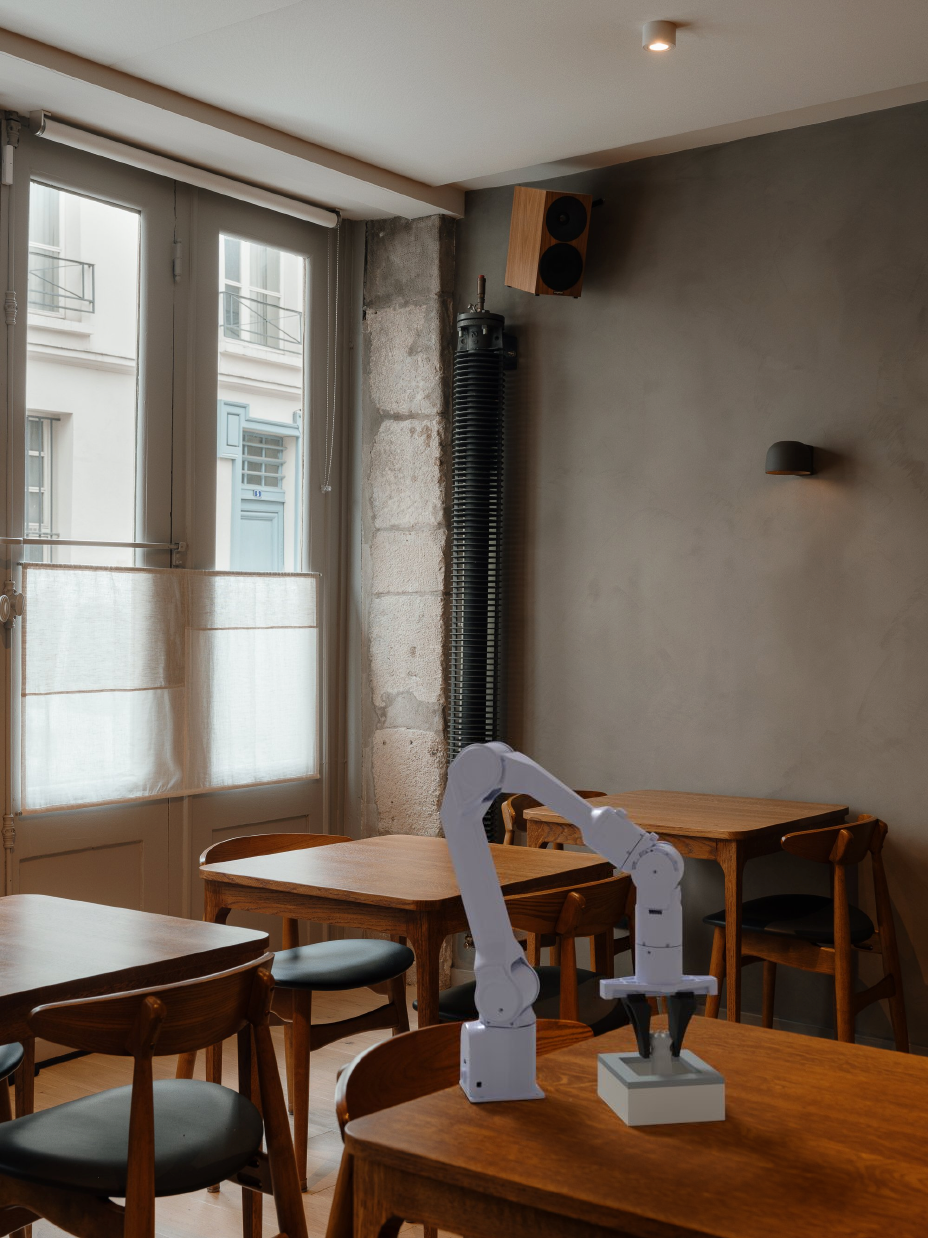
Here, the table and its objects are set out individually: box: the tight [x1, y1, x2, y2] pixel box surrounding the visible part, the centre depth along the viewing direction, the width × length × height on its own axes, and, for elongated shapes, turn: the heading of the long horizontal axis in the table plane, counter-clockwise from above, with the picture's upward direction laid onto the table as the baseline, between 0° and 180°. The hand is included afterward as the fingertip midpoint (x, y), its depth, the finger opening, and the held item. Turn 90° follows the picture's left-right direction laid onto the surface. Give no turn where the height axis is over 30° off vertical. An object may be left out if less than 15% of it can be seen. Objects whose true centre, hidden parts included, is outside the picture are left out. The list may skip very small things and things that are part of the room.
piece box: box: [597, 1048, 726, 1127], centre depth 155 cm, size 12×12×5 cm
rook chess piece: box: [650, 1029, 674, 1076], centre depth 155 cm, size 4×4×8 cm
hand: (659, 1056), depth 155 cm, fingers closed on rook chess piece, 3 cm apart
